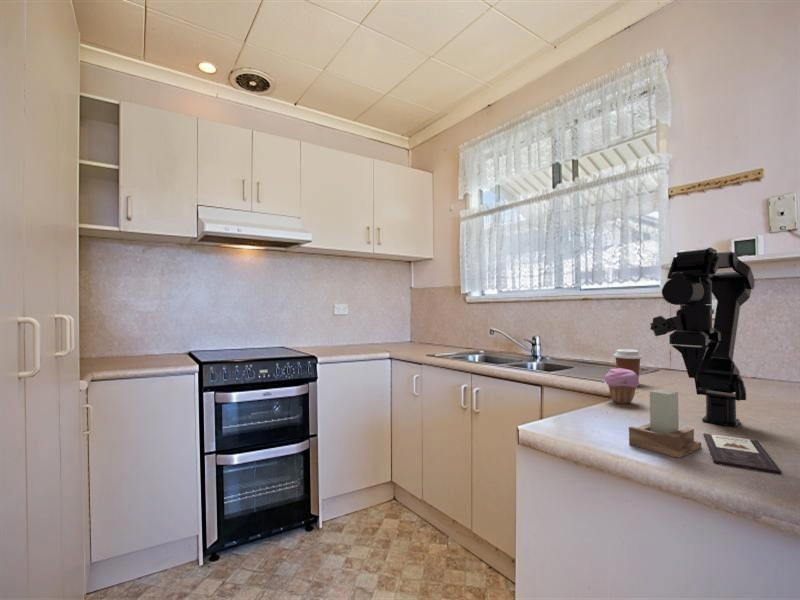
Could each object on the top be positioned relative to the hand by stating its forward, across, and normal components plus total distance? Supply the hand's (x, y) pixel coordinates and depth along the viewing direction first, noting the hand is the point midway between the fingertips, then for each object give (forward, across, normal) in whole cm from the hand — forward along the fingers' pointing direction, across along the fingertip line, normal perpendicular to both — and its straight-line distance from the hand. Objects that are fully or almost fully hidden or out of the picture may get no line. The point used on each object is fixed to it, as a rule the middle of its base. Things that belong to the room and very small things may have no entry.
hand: (696, 375), depth 89 cm
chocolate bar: (+14, +8, +8) cm, 18 cm away
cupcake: (+13, -20, -22) cm, 32 cm away
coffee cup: (+13, -51, -29) cm, 60 cm away
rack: (+13, +14, -3) cm, 19 cm away
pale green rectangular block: (+12, +14, -3) cm, 19 cm away
